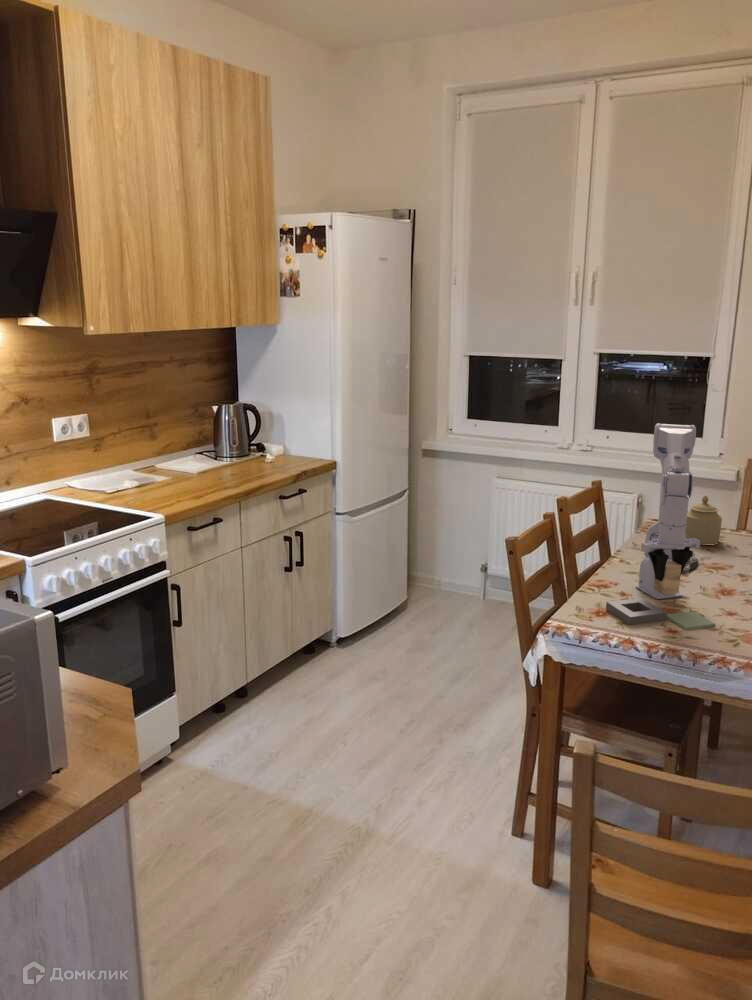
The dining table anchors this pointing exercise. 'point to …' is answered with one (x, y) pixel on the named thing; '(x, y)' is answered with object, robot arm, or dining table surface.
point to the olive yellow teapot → (703, 523)
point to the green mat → (690, 620)
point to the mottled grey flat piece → (690, 564)
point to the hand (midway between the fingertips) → (667, 578)
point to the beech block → (669, 579)
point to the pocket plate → (643, 616)
